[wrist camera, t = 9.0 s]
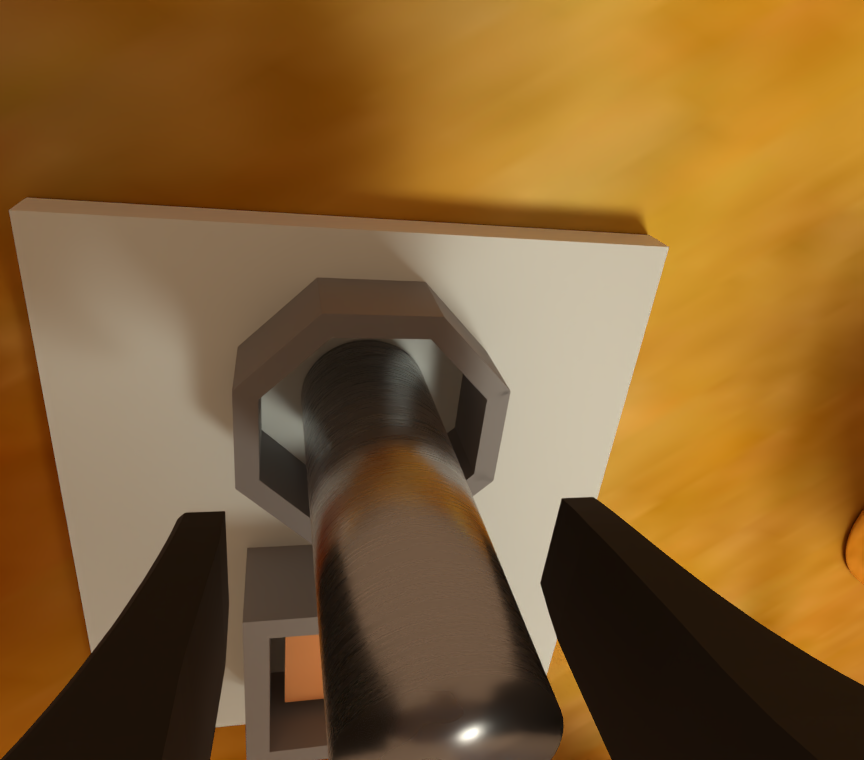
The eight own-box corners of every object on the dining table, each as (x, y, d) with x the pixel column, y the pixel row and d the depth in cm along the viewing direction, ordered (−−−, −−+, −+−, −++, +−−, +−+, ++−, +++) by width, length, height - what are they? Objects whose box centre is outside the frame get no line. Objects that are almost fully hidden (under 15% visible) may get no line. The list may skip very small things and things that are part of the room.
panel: (648, 234, 17) (730, 284, 14) (532, 667, 24) (568, 761, 21) (25, 197, 13) (-48, 250, 10) (114, 709, 21) (86, 826, 18)
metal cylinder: (434, 343, 16) (591, 668, 8) (414, 448, 17) (532, 811, 9) (306, 335, 15) (344, 684, 7) (296, 445, 16) (318, 838, 9)
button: (414, 569, 19) (422, 601, 18) (403, 655, 21) (409, 689, 20) (285, 577, 18) (285, 611, 17) (284, 666, 20) (284, 702, 19)
